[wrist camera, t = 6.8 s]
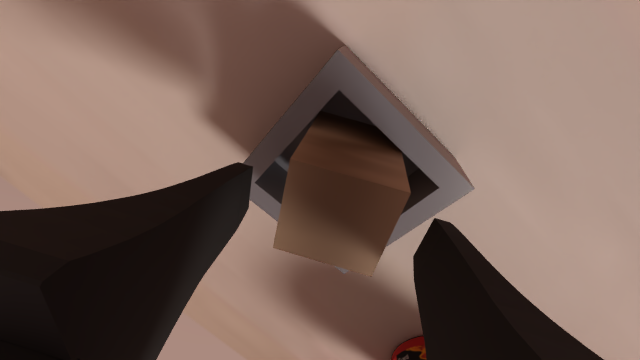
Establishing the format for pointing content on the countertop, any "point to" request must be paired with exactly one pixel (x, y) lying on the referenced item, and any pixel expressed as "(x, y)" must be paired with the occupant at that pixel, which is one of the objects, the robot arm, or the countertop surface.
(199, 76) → the countertop surface
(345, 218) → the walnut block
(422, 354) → the canned food
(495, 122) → the countertop surface
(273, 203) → the well
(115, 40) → the countertop surface
